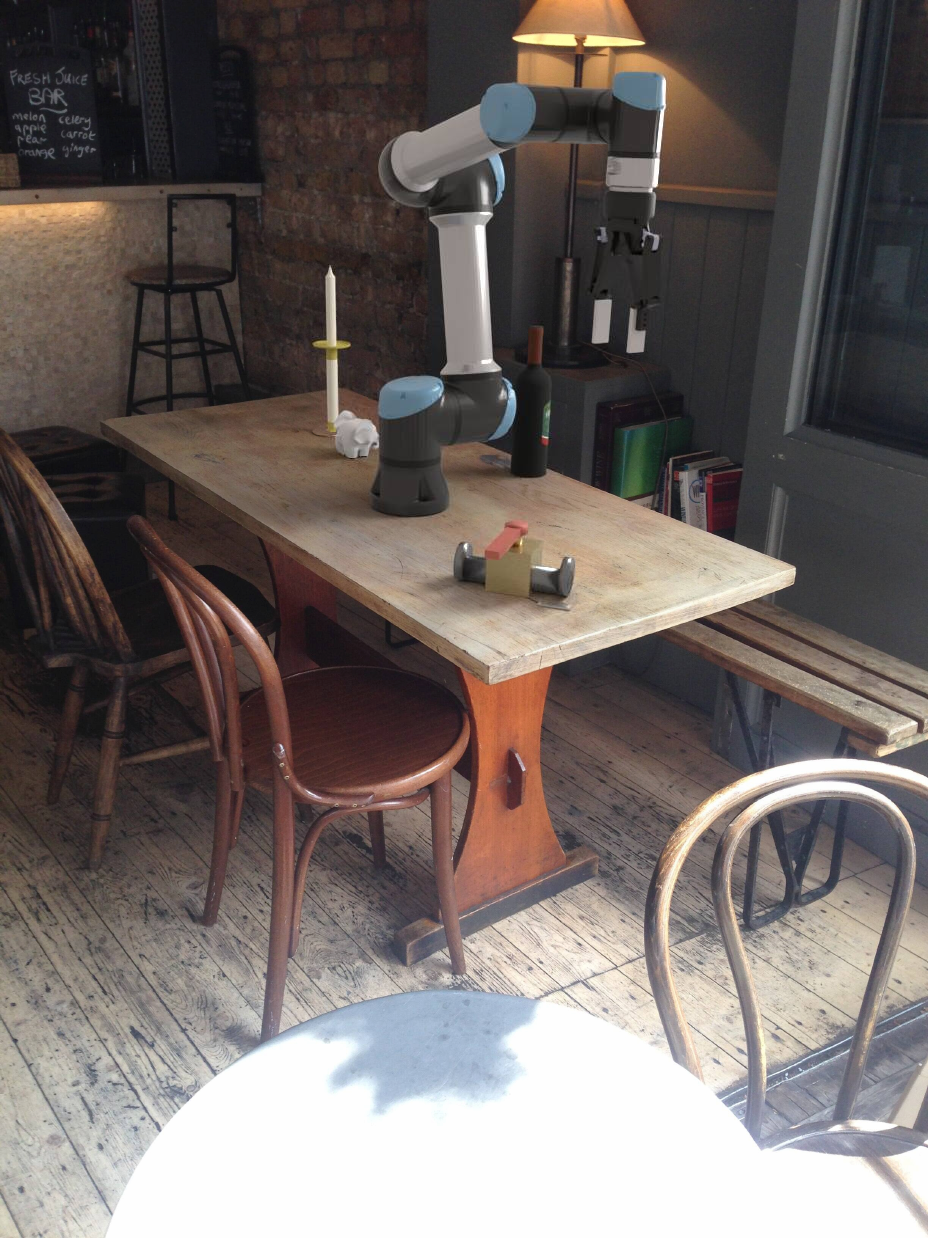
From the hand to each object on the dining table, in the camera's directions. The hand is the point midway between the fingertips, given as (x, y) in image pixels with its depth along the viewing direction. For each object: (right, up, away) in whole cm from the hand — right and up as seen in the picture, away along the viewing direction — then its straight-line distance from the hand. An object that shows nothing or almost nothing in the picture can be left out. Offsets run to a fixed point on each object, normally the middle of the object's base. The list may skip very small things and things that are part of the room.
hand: (617, 346), depth 169 cm
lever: (-17, -31, -6) cm, 36 cm away
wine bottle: (-10, -12, +61) cm, 63 cm away
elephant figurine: (-47, -6, +70) cm, 84 cm away
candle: (-54, +1, +86) cm, 102 cm away
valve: (-16, -38, +1) cm, 41 cm away
